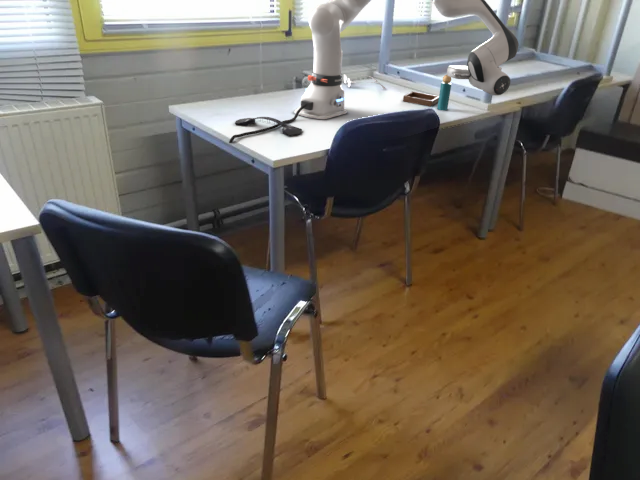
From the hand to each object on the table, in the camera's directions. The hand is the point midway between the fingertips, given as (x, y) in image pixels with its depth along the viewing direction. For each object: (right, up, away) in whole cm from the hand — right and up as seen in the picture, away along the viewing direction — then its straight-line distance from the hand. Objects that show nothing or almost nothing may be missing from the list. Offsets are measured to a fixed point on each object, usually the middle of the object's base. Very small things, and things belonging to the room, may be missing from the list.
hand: (463, 68), depth 218 cm
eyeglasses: (-39, +9, +47) cm, 62 cm away
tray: (-14, -4, +29) cm, 32 cm away
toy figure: (-6, -11, +20) cm, 23 cm away
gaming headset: (-74, -30, -25) cm, 84 cm away
